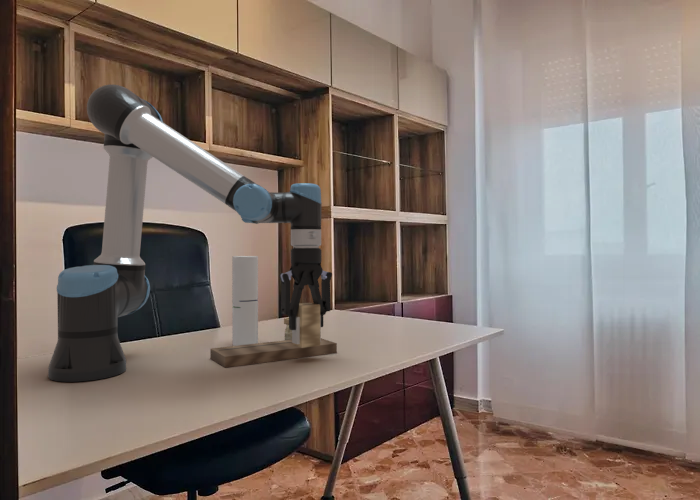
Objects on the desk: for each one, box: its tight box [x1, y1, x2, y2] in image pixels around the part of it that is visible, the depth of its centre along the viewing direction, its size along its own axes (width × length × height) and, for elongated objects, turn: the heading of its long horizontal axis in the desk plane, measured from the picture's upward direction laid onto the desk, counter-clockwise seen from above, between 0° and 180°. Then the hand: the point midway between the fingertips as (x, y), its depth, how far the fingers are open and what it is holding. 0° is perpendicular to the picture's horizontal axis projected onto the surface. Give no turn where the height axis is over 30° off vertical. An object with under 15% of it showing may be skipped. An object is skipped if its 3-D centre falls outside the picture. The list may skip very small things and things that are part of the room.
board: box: [210, 337, 338, 369], centre depth 128 cm, size 30×11×3 cm, turn 123°
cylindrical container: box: [231, 255, 259, 346], centre depth 143 cm, size 7×7×25 cm
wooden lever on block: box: [283, 302, 320, 348], centre depth 127 cm, size 5×14×10 cm, turn 32°
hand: (306, 341), depth 123 cm, fingers closed on wooden lever on block, 5 cm apart
